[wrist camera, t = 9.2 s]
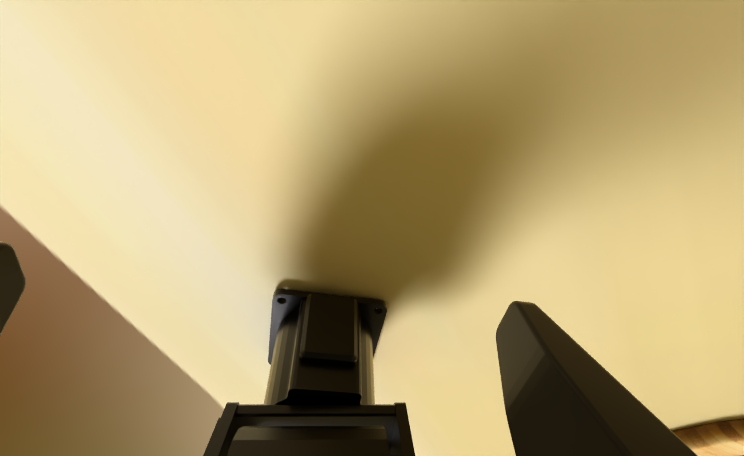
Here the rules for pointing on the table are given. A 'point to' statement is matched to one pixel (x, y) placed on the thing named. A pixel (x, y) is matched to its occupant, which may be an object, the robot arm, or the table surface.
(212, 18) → the table surface
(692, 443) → the wooden plate with food
